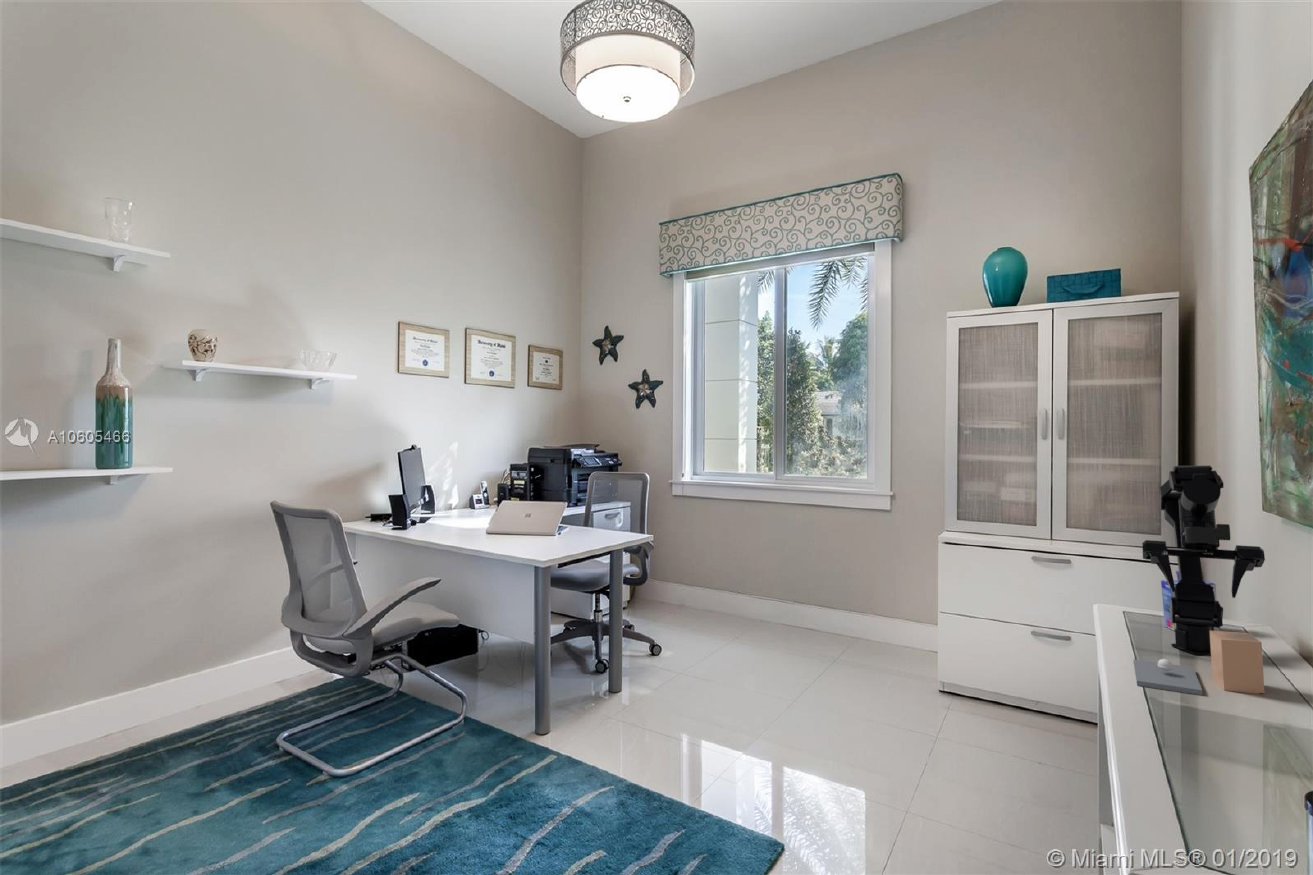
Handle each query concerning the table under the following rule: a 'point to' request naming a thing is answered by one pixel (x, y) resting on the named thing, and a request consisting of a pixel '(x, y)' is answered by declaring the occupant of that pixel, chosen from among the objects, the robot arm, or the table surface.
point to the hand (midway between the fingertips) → (1203, 594)
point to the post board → (1167, 676)
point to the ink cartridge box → (1168, 594)
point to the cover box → (1237, 661)
